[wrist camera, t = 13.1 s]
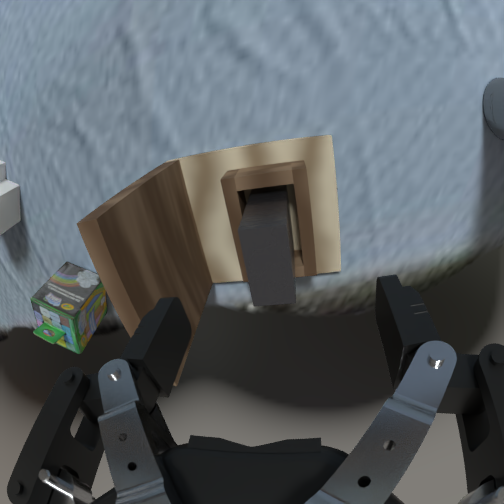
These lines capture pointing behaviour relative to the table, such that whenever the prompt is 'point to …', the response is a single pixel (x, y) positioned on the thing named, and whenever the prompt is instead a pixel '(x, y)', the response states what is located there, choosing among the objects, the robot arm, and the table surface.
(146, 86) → the table surface
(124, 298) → the post socket
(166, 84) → the table surface
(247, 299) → the table surface
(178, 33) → the table surface
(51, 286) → the chalk box
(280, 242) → the dark grey block
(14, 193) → the white stepped block
